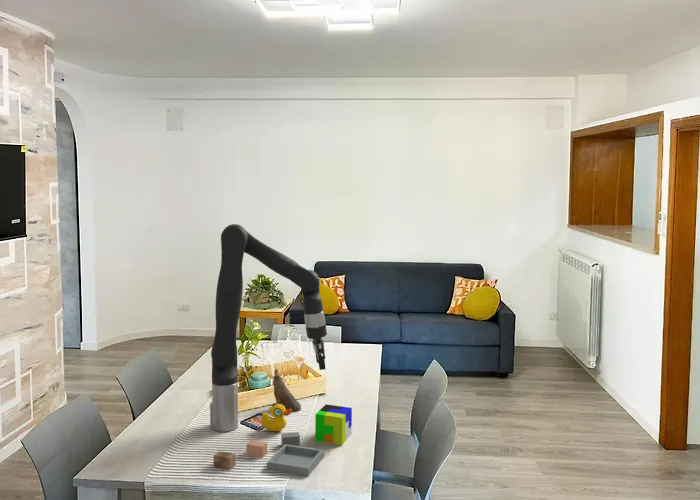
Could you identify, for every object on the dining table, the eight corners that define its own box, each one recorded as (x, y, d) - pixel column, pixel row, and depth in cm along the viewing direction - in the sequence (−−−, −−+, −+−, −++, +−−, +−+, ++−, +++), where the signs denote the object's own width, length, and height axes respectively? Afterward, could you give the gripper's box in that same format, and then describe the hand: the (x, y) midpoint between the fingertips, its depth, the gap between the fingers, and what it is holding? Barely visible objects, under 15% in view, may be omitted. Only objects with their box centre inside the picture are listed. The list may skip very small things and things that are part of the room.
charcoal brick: (282, 448, 216) (282, 437, 215) (281, 444, 219) (281, 433, 218) (299, 447, 217) (299, 436, 216) (298, 443, 220) (298, 432, 220)
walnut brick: (213, 467, 201) (213, 455, 201) (219, 462, 205) (218, 451, 204) (230, 470, 200) (230, 458, 199) (235, 465, 203) (235, 453, 202)
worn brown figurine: (271, 416, 250) (261, 373, 248) (274, 411, 256) (265, 369, 254) (299, 412, 248) (290, 368, 246) (302, 407, 254) (293, 364, 252)
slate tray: (267, 469, 200) (267, 461, 200) (284, 451, 213) (284, 444, 213) (308, 476, 196) (308, 468, 195) (323, 457, 209) (323, 449, 209)
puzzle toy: (351, 434, 228) (351, 407, 227) (342, 445, 218) (342, 417, 217) (325, 430, 231) (325, 404, 230) (315, 441, 222) (315, 414, 220)
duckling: (293, 428, 232) (293, 402, 231) (290, 434, 227) (290, 407, 226) (263, 426, 234) (263, 400, 233) (259, 432, 228) (259, 406, 227)
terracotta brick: (246, 455, 210) (246, 444, 210) (251, 451, 213) (250, 440, 213) (262, 458, 208) (262, 446, 208) (267, 453, 212) (267, 442, 211)
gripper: (303, 321, 240) (309, 362, 242) (307, 330, 226) (313, 373, 228) (322, 318, 241) (328, 358, 243) (328, 326, 227) (333, 369, 229)
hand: (321, 365), depth 236 cm, fingers open, 8 cm apart
